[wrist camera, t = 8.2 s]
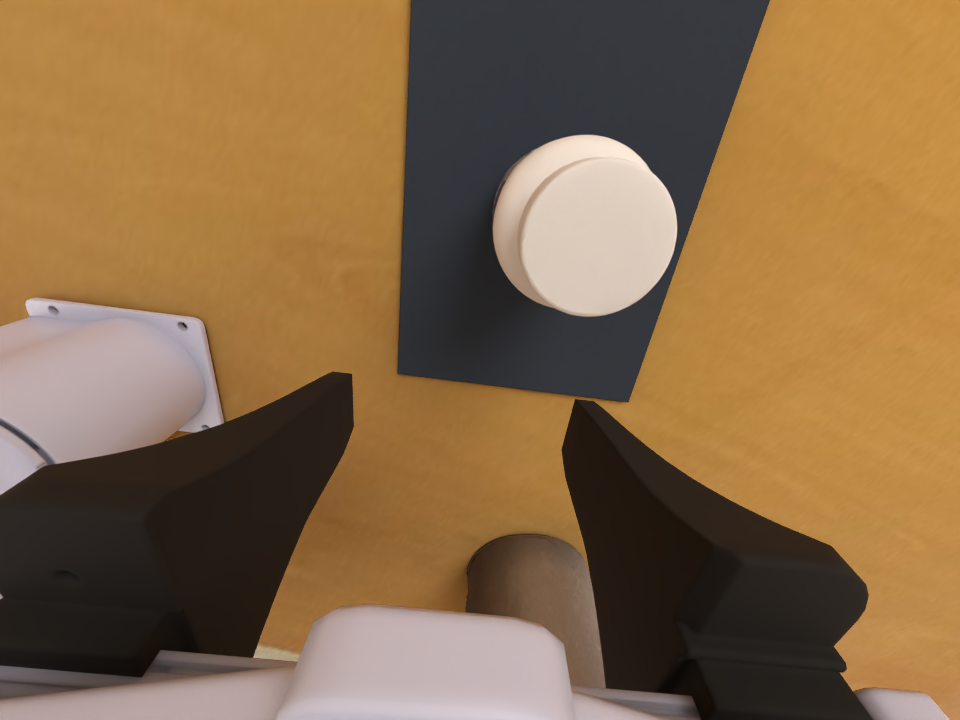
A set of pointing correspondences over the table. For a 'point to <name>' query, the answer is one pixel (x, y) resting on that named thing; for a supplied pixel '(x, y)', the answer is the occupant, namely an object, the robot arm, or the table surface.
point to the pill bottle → (583, 226)
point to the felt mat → (526, 126)
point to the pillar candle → (541, 596)
